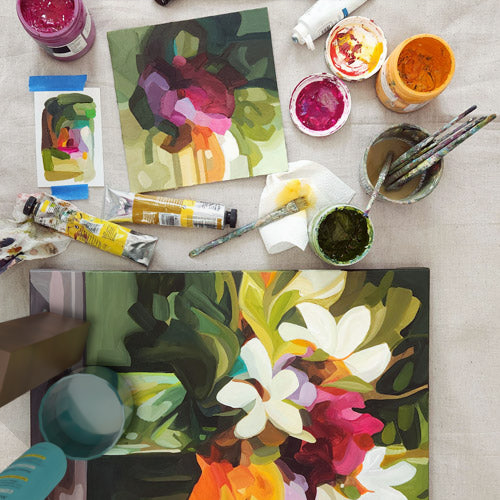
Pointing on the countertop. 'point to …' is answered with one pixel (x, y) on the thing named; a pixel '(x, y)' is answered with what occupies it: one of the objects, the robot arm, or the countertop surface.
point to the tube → (33, 473)
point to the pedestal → (37, 351)
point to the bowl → (86, 412)
